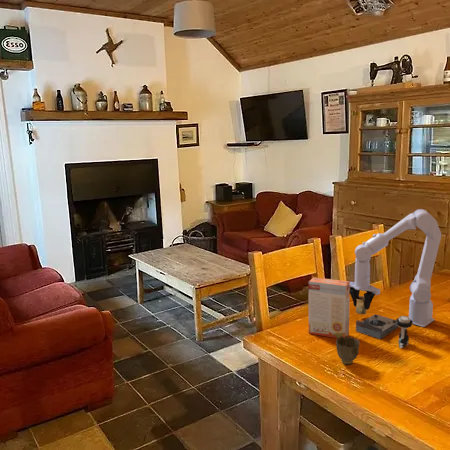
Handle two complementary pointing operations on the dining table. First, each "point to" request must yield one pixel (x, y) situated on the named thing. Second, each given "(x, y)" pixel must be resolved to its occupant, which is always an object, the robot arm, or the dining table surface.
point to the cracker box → (329, 307)
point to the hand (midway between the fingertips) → (361, 307)
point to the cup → (347, 349)
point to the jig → (376, 326)
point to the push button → (403, 330)
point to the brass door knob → (360, 305)
